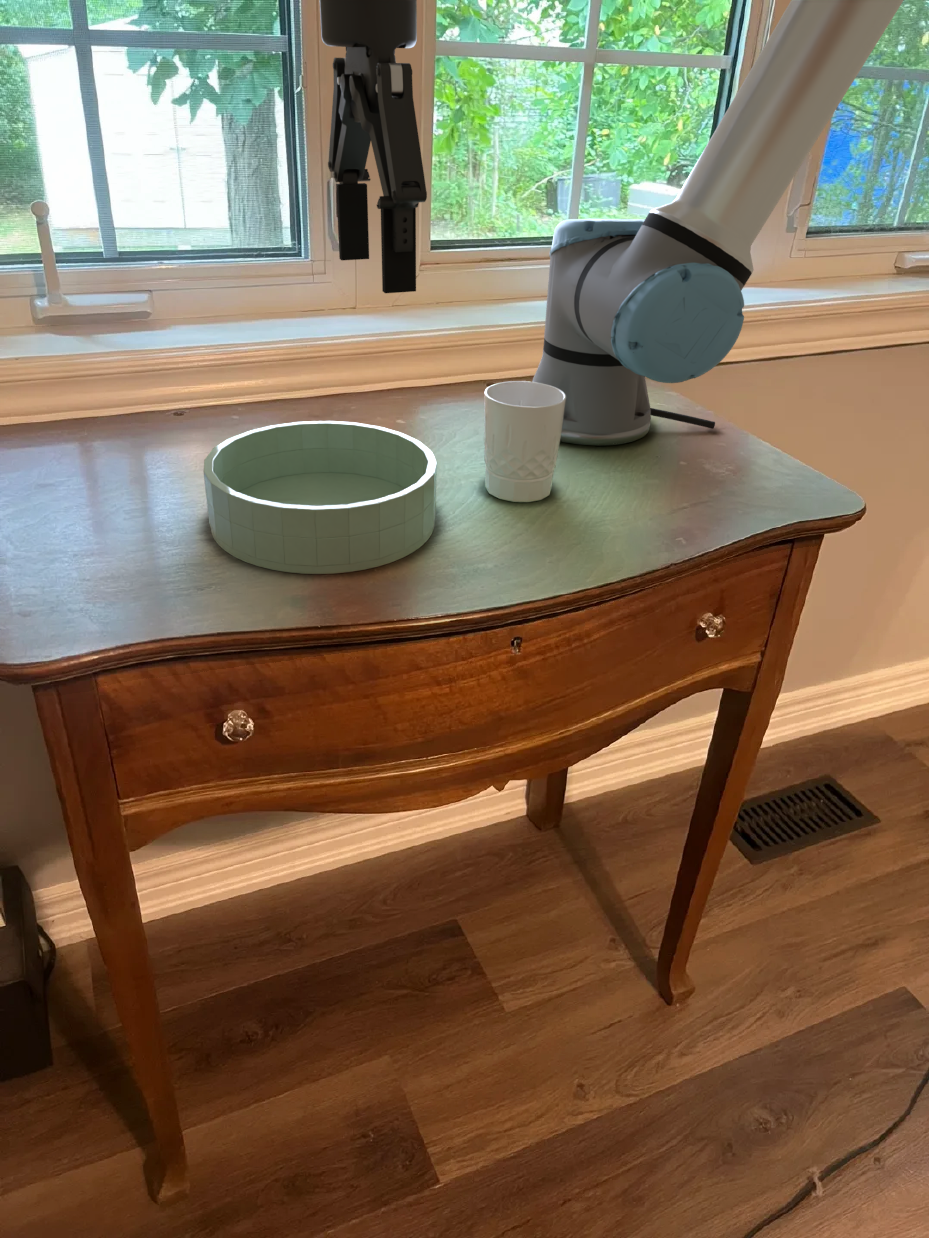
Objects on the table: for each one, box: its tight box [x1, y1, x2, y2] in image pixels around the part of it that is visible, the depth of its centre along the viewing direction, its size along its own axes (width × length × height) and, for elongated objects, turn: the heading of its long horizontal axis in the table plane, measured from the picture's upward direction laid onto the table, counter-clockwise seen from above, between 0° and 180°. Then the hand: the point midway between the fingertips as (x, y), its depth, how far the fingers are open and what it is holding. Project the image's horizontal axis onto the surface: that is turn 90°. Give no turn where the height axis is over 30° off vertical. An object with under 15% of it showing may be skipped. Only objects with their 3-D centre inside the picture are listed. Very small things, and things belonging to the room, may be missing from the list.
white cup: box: [483, 380, 566, 503], centre depth 93 cm, size 8×8×10 cm
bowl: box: [203, 420, 438, 575], centre depth 86 cm, size 21×21×6 cm
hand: (375, 274), depth 84 cm, fingers open, 13 cm apart
